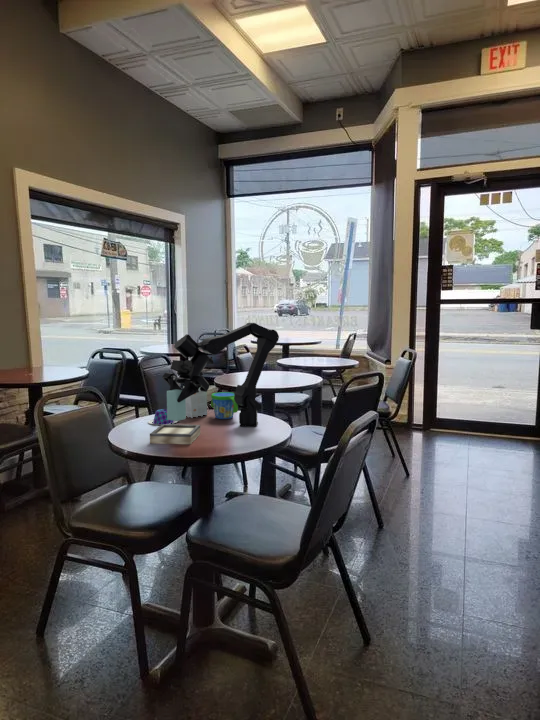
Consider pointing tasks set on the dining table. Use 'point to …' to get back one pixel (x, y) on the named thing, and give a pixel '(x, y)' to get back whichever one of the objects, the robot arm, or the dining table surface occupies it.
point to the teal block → (175, 406)
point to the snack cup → (224, 405)
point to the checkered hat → (161, 418)
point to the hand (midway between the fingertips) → (173, 400)
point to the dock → (175, 434)
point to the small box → (196, 404)
